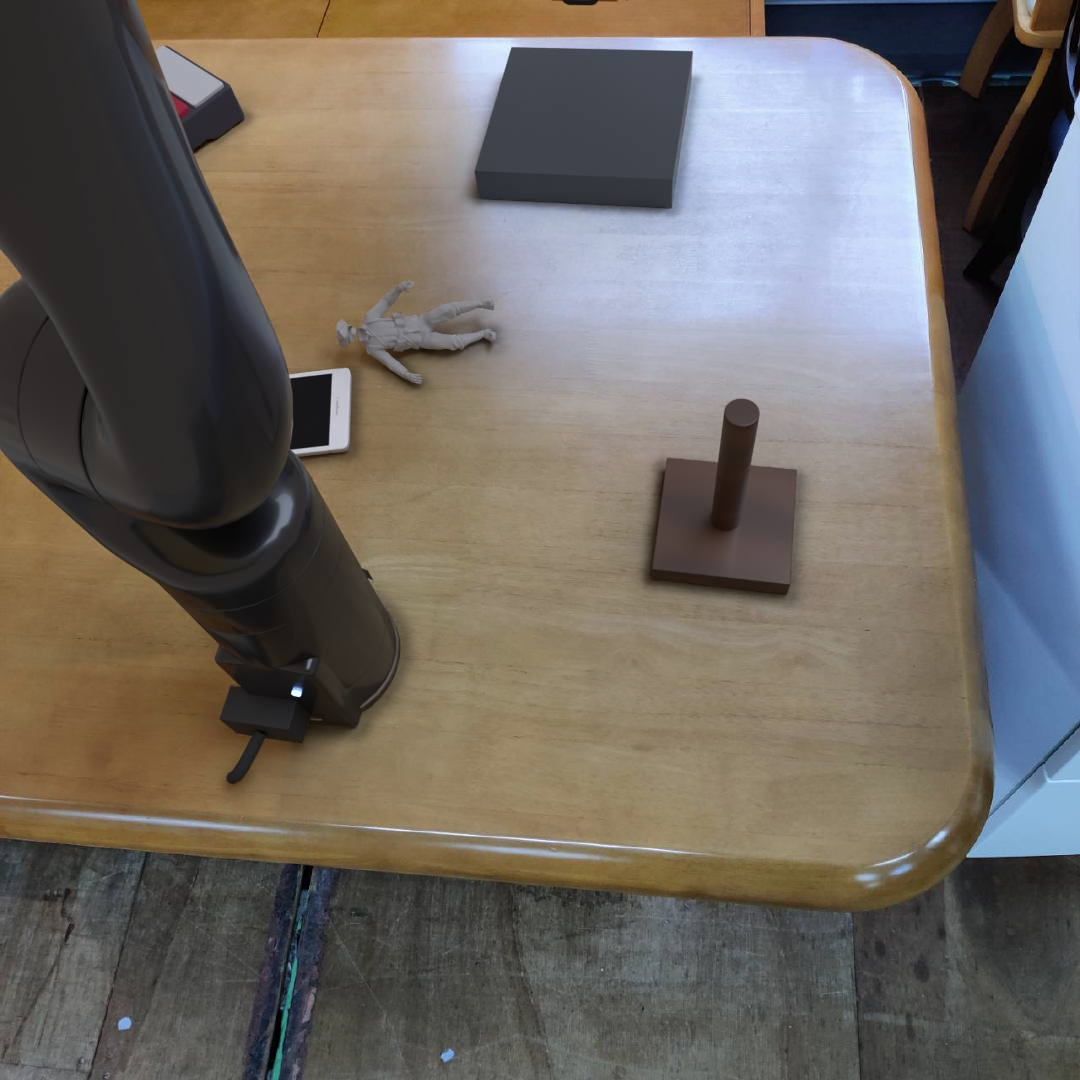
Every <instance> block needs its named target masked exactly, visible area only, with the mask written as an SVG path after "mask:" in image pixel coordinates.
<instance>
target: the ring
mask: <svg viewBox="0 0 1080 1080" xmlns="http://www.w3.org/2000/svg"><path fill="white" fill-rule="evenodd" d="M551 1H553V2H563V1H562V0H551ZM625 1H628V0H625ZM598 2H604V3H605V2H609V3H610V2H612V3H615V2H619V0H598Z"/></svg>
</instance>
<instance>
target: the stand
mask: <svg viewBox="0 0 1080 1080" xmlns="http://www.w3.org/2000/svg"><path fill="white" fill-rule="evenodd" d="M693 56H694V51H693V50H667V49H666V50H663V49H662V50H661V49H660V50H659V49H624V48H623V49H617V48H577V47H574V48H571V47H570V48H569V47H530V46H529V47H528V46H526V47H525V46H522V47H521V46H511V47H510V50H509V54H508V57H507V60H506V64H505V67H504V71H503V74H502V77H501V81H500V83H499V88H498V89H497V90H498V91H497V93H496V97H495V100H494V104H493V108H492V111H491V113H490V117H489V121H488V124H487V127H486V131H485V133H484V137H483V140H482V143H481V144H482V145H481V147H480V151H479V154H478V158H477V161H476V164H475V168H474V176H475V181H476V187H477V191H478V192H477V193H478V198H479V199H486V200H502V201H503V200H504V201H522V202H523V201H525V202H526V201H527V202H543V203H544V202H545V203H563V204H564V203H565V204H586V205H605V206H607V205H608V206H625V207H646V208H648V207H649V208H667V209H672V208H673V203H674V195H675V189H676V183H677V182H676V181H677V177H678V170H679V164H680V163H679V162H680V157H681V151H682V144H683V138H684V131H685V125H686V118H687V113H688V112H687V111H688V104H689V98H690V92H691V87H692V78H693V77H692V76H693V58H694V57H693Z"/></svg>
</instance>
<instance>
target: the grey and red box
mask: <svg viewBox="0 0 1080 1080" xmlns="http://www.w3.org/2000/svg"><path fill="white" fill-rule="evenodd" d="M154 50H155V53H156V56H157V58H158V61H159V64H160V66H161V69H162V71H163V74H164V76H165V79H166V82H167V85H168V87H169V90H170V93H171V96H172V98H173V101H174V104H175V106H176V109H177V112H178V115H179V117H180V120H181V123H182V125H183V128H184V131H185V133H186V136H187V139H188V141H189V144H190V146H191V149H192V151H194V150H195V149H197V148H198V147H199V146H201V145H202V144H203V143H204V142H206V141H207V140H216V139H219V138H220V137H221V136H223V135H224V134H226V133H227V132H229V130H231V129H232V128H233V127H235V126H236V125H237V124H238V123H240V122H241V121H242V120H243V119H244V118H245V113H244V112H243V109H242V107H241V104H240V103H239V101H238V99H237V96H236V94H235V92H234V90H233V88H232V86H231V84H230V83H228V82H227V81H225V80H223V79H222V78H220V77H218V76H217V75H215V74H214V73H213V72H210V71H209V70H207V69H205V68H204V67H203V66H201V65H200V64H197V63H196V62H194V61H193V60H191V59H190V58H188V57H187V56H185V55H183V54H181V53H180V52H179V51H177V50H175V49H174V48H172V47H171V46H168V45H161V46H159V47H158V48H157V49H154Z"/></svg>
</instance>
